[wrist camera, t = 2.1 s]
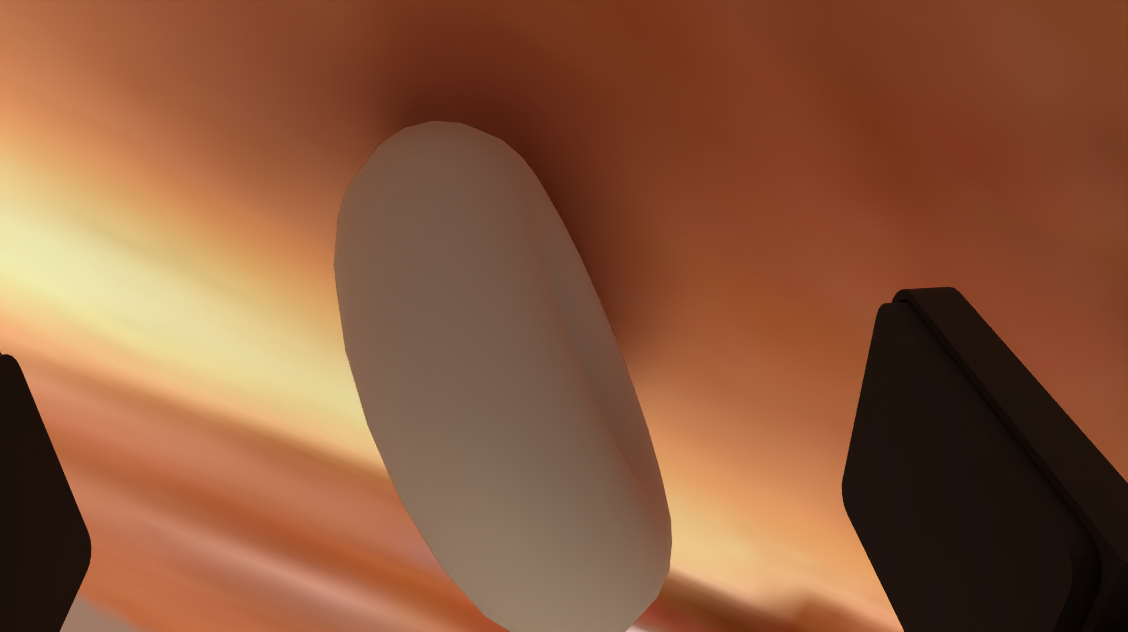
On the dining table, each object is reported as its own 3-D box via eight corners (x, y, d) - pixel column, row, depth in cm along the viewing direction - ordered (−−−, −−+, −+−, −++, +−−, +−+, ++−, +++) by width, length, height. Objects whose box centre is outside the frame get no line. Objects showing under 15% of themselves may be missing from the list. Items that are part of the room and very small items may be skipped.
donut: (653, 381, 24) (741, 734, 15) (531, 426, 24) (551, 791, 16) (489, 23, 19) (485, 257, 10) (339, 90, 19) (218, 366, 11)
